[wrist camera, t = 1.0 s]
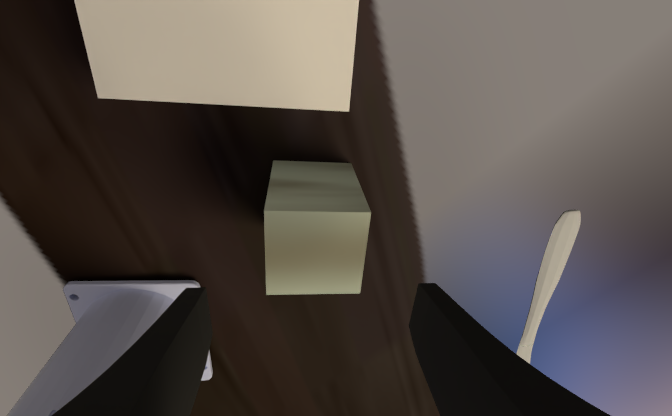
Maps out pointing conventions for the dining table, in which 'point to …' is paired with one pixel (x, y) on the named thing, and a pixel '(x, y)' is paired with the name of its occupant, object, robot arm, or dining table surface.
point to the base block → (223, 51)
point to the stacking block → (314, 229)
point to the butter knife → (549, 276)
